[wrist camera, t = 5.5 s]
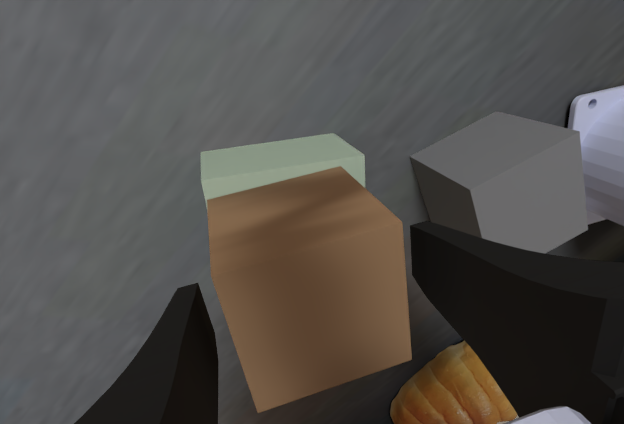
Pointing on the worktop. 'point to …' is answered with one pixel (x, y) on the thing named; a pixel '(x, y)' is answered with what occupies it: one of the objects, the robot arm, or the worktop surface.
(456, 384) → the pastry
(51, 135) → the worktop surface
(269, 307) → the walnut cube
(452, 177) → the charcoal cube
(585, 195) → the robot arm
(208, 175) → the green base block
